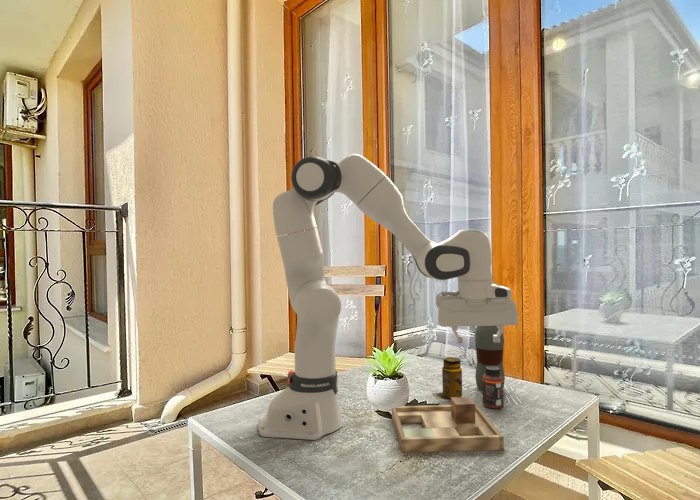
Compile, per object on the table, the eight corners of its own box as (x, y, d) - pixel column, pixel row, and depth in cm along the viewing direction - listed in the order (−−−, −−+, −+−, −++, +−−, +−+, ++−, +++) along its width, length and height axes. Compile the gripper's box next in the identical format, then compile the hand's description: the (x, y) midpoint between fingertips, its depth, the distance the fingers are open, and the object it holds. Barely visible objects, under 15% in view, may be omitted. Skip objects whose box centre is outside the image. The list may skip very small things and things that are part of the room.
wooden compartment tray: (401, 452, 98) (401, 439, 98) (391, 417, 118) (391, 406, 118) (503, 449, 98) (503, 436, 98) (476, 414, 118) (476, 404, 118)
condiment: (467, 399, 130) (466, 361, 130) (442, 402, 128) (441, 363, 128) (456, 391, 137) (455, 355, 137) (432, 394, 135) (431, 357, 135)
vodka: (510, 389, 138) (509, 298, 138) (495, 396, 132) (494, 301, 132) (484, 382, 145) (483, 296, 145) (469, 388, 139) (468, 298, 139)
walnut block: (456, 423, 108) (455, 404, 108) (451, 415, 113) (450, 397, 113) (475, 423, 108) (475, 404, 108) (469, 415, 113) (469, 396, 113)
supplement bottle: (505, 410, 121) (504, 371, 121) (483, 408, 123) (483, 370, 122) (502, 402, 127) (501, 365, 127) (481, 401, 128) (481, 364, 128)
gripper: (435, 293, 109) (438, 345, 110) (518, 290, 106) (520, 345, 106) (435, 290, 116) (437, 339, 116) (513, 287, 112) (515, 339, 112)
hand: (478, 342), depth 111 cm, fingers open, 8 cm apart
